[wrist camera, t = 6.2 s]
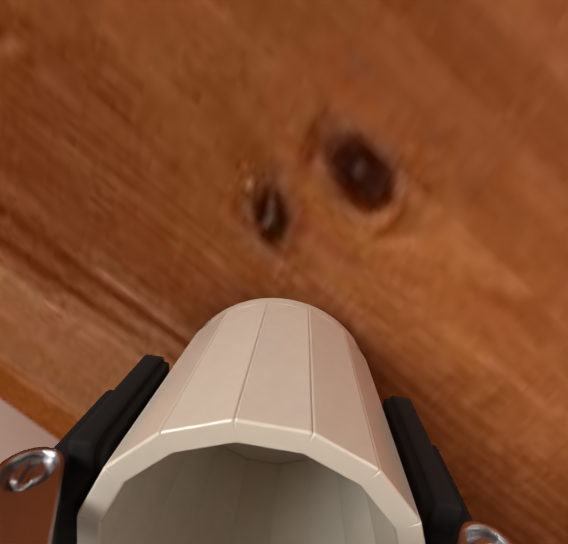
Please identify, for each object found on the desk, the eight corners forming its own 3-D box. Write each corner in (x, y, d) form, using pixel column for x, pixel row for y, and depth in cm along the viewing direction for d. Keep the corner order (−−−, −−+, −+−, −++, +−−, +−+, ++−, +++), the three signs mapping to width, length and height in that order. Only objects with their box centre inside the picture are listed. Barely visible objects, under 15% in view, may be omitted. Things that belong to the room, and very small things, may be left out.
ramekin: (177, 444, 14) (76, 657, 8) (191, 282, 12) (73, 392, 6) (347, 473, 14) (382, 712, 8) (387, 315, 12) (476, 460, 6)
